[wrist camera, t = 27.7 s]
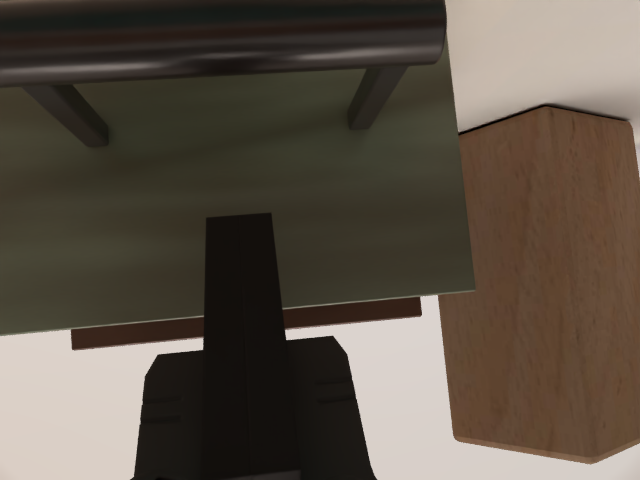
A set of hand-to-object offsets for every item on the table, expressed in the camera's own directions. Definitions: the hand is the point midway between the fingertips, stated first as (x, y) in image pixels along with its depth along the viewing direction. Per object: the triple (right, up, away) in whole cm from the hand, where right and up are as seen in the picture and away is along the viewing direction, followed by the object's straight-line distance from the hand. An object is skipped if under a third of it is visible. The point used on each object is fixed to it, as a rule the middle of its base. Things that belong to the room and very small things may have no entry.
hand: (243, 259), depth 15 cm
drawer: (-1, +7, +6) cm, 10 cm away
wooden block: (+16, +8, +26) cm, 32 cm away
